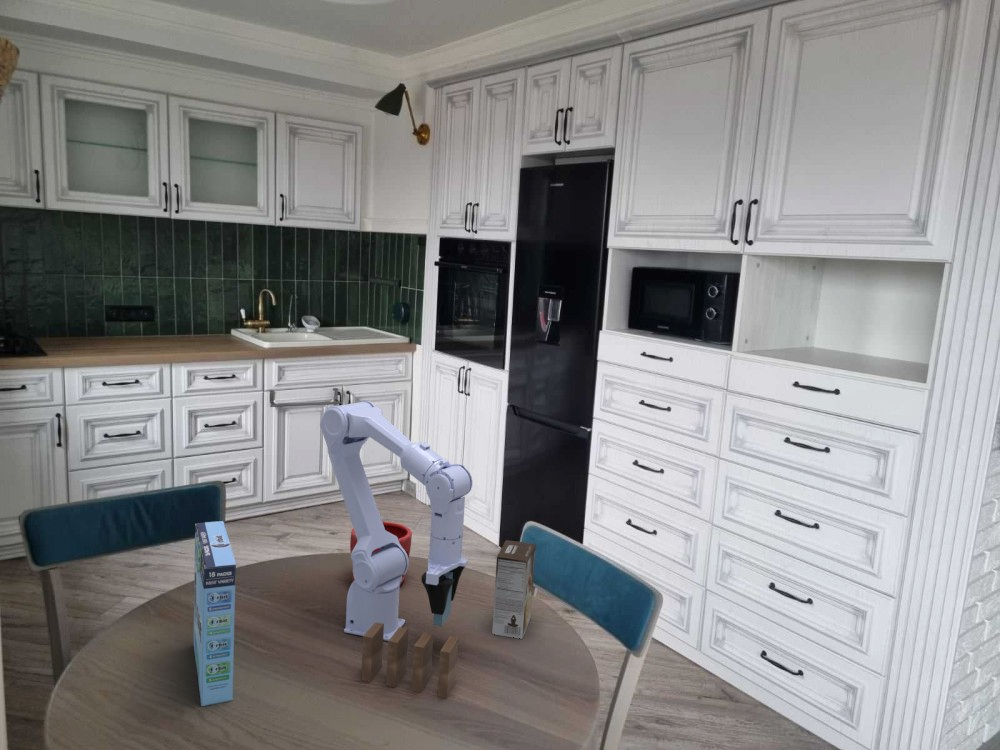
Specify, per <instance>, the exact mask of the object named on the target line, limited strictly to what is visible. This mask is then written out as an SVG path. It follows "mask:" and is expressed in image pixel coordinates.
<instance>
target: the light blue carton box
mask: <svg viewBox="0 0 1000 750" xmlns="http://www.w3.org/2000/svg"><path fill="white" fill-rule="evenodd" d="M194 530H195V531H194V568H193V569H194V573H193V574H194V579H193V582H194V584H193V585H194V586H193V587H194V588H193V589H194V591H193V592H194V594H193V649H194V650H193V651H194V656H195V657H194V658H195V664H196V665H195V666H196V672H197V678H198V689H199V696H200V706H201V707H203V708H204V707H207V706H213V705H218V704H223V703H228V702H232V701H233V700H234V697H233V695H234V654H235V653H234V651H235V648H234V647H235V615H236V614H235V609H236V608H235V607H236V605H235V604H236V574H237V572H236V570H237V563H236V558H235V556H234V551H233V548H232V545H231V542H230V539H229V535H228V532H227V529H226V525H225V522H224V521H223V520H220V521H205V522H198V523H195V524H194Z"/></svg>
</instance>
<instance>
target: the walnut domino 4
mask: <svg viewBox="0 0 1000 750" xmlns="http://www.w3.org/2000/svg"><path fill="white" fill-rule="evenodd" d="M459 640H460V638H459V637H454V636H450V635H449V636H448V638H447V640H446V641H445V643H444V644H443V646H442V648H441V649H440V651H439V652H440V653H439V665H438V667H439V668H438V683H437V684H438V685H437V697H439V698H444V699H448V697H449V696H450V693H451V691H452V690H453V689H454V687H455V684H456V682H457V672H458V669H457V668H458V657H459V655H458V654H459V642H460V641H459Z"/></svg>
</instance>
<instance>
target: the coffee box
mask: <svg viewBox="0 0 1000 750" xmlns="http://www.w3.org/2000/svg"><path fill="white" fill-rule="evenodd" d="M536 548H537V543H533V542H525V541H524V542H523V541H514V540H508V539H507V540H505V541H504V543H503V545H502V546H501V548H500V549H499V552H498V554H497V556H496V565H495V578H494V579H495V580H494V594H493V596H494V598H493V612H492V614H493V616H492V626H491V627H492V628H491V629H492V630H491V633H492V635H494V634H495V636H501V637H508V638H513V637H514V638H513V639H519V638H520V639H519V640H523V639H524V637H525V634H526V631H527V628H528V626H529V624H530V620H531V617H532V603H533V602H532V601H533V591H534V589H533V588H534V587H533V586H534V575H535V564H536V563H535V561H536V550H537V549H536Z"/></svg>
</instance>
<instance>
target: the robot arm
mask: <svg viewBox="0 0 1000 750" xmlns="http://www.w3.org/2000/svg"><path fill="white" fill-rule="evenodd" d="M319 426H320V429H321V432H322V435H323V438H324V440H325V445H326V447H327V453H328V457H329V461H330V463H331V466H332V469H333V471H334V474H335V478H336V480H337V481H336V482H337V483H338V486H339V490H340V492H341V496H342V497H343V502H344V504H345V508H346V511H347V513H348V517H349V519H350V522H351V526H352V529H353V528H354V531H355V534H356V537H357V540H358V541H357V544H356V545H355V547H354V549H353V551H352V553H351V552H350V558H351V563H352V572H353V575H354V579H355V581H353V580H352V583H351V584H350V586H349V589H348V592H347V596H346V606H345V608H346V609H345V611H346V613H345V615H346V617H345V628H344V629H343V632H344V633H346V634H351V635H357V636H361V637H363V636H364V634H365V633H366V632H367V631H368V630H369V629H370V628H371V627H372V625H373V624H374V623H375V622H377V623H382V624H384V633H383V641H387V642H388V641H389V639H390V638H391V637H392V636H393V634H394V633H395V632H396V631H397V629H398V628H399V627H403V626H404V625H405V623H406V620H405V618H404V619H403V618H399V604H400V603H399V602H400V601H399V600H400V586H401V584H400V582H401V581H402V575H404V574H405V575H406V573H408V570H409V566H410V561H409V558H408V556H407V553H406V552H405V550H404V549H403V548H402V547H401V545H400V543H399V541H398V538H397V536H395V535H393V534H391V533H389V532H387V531H386V530H385V528H384V525H383V522H384V521H383V519H382V517H381V515H380V512H379V508H378V506H377V503H376V499H375V496H374V495H373V491H372V488H371V486H370V482H369V480H368V477H367V474H366V471H365V469H364V465H363V462H362V460H361V457H360V452H361V450H362V447H363V445H364V444H365V443H366V442H367V441H368V439H369V438H371V439H372V440H373V441H375V442H377V443H378V444H380V446H383V447H384V448H386V449H387V450H388V451H390V453H393V454H394V455H395V456H397V457H398V458H400V459H399V461H400V466H401V467H402V469H403V470H405V471H406V472H407V473H409V475H410V476H412V477H414V479H416V480H417V481H419V482H420V483H421V484H422V485H424V487H425V491H426V494H427V496H428V498H429V504H430V505H429V508H431V509H430V510H431V517H430V519H431V520H430V535H429V554H428V556H427V571H426V572H423V574H422V575H421V576H420V577H421V584H422V585H423V586H424V589H425V591H426V594H427V597H428V598H427V599H428V601H429V607H430V612H431V614H433V615H434V614H439V615H443V614H444V611H445V608H446V603H447V598H448V594H449V591H450V588H451V586H452V596H451V602H453V601H454V599H455V597H456V592H457V588H458V585H459V582H460V578H461V575H462V574H463V571H464V570H465V568H466V566H467V564H468V563H469V559H468V558H465V557H463V537H464V521H465V507H466V506H465V505H466V503H465V501H466V496H467V495H468V494H469V493H470V492H471V490H472V488H473V479H472V478H473V477H472V475H471V472H470V471H469V470H468V469H467V468H466V467H465V465H464V464H461V463H454V464H453V463H452V462H450V461H449V460H448V459H446V458H443V457H442V456H441V455H439V454H438V453H437V452H435V451H434V450H433V449H431V445H430V444H429V443H427V442H422V441H416V442H413V441H412V440H410V439H409V438H407V436H405V434H403V433H402V432H401V431H400V430H399V429H398V428H397V427H396V426H395V425H393V424H392V423H391V422H390V421H389V420H388V419H386V418H385V416H383V411H382V409H381V408H380V407H378V406H376V405H375V404H374V403H373V402H372V401H370V400H362V401H359V402H358V401H357V402H353V403H347V404H341V405H331V406H328V407H327V408H326V409H325V410H324V413H323V414H322V418H321V420H320V423H319ZM377 548H379V549H381V550H379V551H376V552H374V553H372V551H374V550H375V549H377ZM447 572H453V579H451V578H446V576H444V574H445V573H447Z"/></svg>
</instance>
